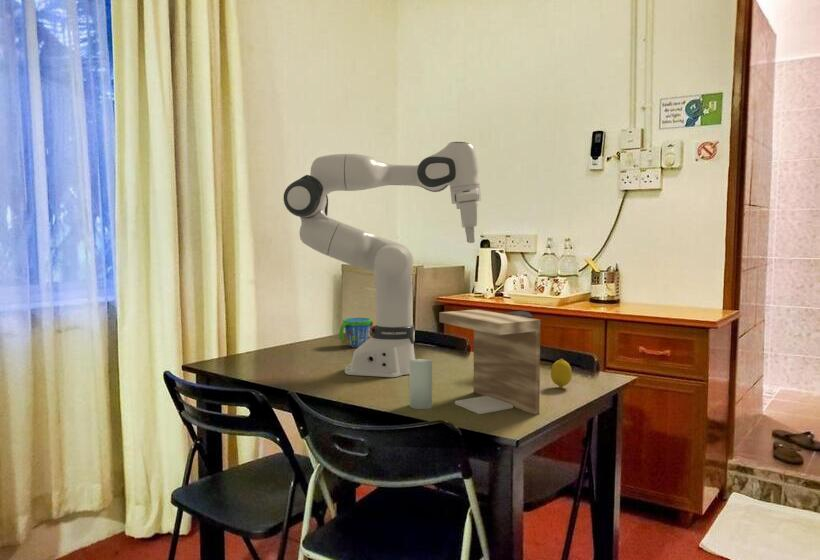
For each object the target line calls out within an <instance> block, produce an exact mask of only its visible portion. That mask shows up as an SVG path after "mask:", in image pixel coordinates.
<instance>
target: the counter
mask: <svg viewBox="0 0 820 560" xmlns="http://www.w3.org/2000/svg"><path fill="white" fill-rule="evenodd" d="M438 315H439V317H438V319H439V321H438V322H439V323H442V324H446V325H452V326H456V327H460V328H464V329H469V330H472V331H473V393H474V394H477V395H480V396H478V397H470V398H465V399H459V400H455V401H454V405H456V406H459V407H461V408H463V409H466V410H468V411H471V412H474V413H475V414H477V415H482V414H489V413H493V412H499V411H505V410H509V409H514V408H516V409H518V410H521V411H524V412H527V413H530V414H532V415H535V416H536V415H540V395H541V394H540V391H541V390H540V388H541V387H540V386H541V384H540V383H541V380H540V379H541V376H540V375H541V319H538V318H533V317H532V318H526V317H520V316H514V315H508V314H504V313H503V312H496V311H490V310H483V309H477V308H476V309H466V310H453V311H452V310H451V311H439V312H438Z"/></svg>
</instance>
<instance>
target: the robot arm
mask: <svg viewBox="0 0 820 560" xmlns="http://www.w3.org/2000/svg"><path fill="white" fill-rule="evenodd" d="M477 160H478V158H477V154H476V150H475V148H474V146H473V145H472V144H471V143H469V142H465V141H452V142H449V143H447V144H446V146H444V148H442V149H440V150H439V151H438V152H435V153H433V154H432V155H430V156H427V157H426V158H425V157H424V159H422V160H421V161H420V162H419V164H416V165H415V164H414V165H411V164H406V165H405V164H389V163H386V162H382V161H380V160H378V159H376V158H374V157H371V156H368V155H365V154H364V155H363V154H359V153H358V154H357V153H335V154H328V155H322V156H318V157H316V158H315V159H314V160H313V162H312V164H311V166H310V173H309V174H305V175H304V176H302V177H301V178H298V179H297V180H294V181H293V182H292V183H290V184H289V185H288V186H287V187H286V188H285V190H284V193H283V203H284V206H285V208H286V210H288V212H289V213H290V214H292V215H294V216H296V217H299V218H300V222H301V225H300V227H299V238H300V241H301V242H302V243H303V244H305V245H306V246H308V247H309V248H311V249H313V250H314V251H316V252H318V253H321V254H323V255H325V256H328V257H330V258H332V259H335V260H336V261H339V262H343V263H346V264H348V265H350V266H354V267H357V268H359V269H360V268H361V269H362V270H363V269H364V270H366V271H370V272H372V273H373V274H374V275H373V276H374V288H375V296H376V297H375V298H376V299H375V300H376V324H374V323H373V325H372V326H371V327H370V329H369V331H370V333H369V337H368V340H367V341H365V342H364V343H363V344H362V345H360V346H359V347H356V349H355V350H354V351H353V354H352V358H351V363H349V364H347V365H346V366H345V367H344V374H345V375H349V376H365V377H382V378H396V377H401V376H404V375H409V361H411V360H415V359H416V354H415V348H414V347H415V346H414V345H415V344H414V343H415V341H416V340H415V338H416V337H415V333H416V332H415V325H414V323H413V320H414V319H413V315H414V314H413V312H414V311H413V310H414V309H413V304H414V303H413V302H414V301H413V299H414V298H413V286H412V285H413V284H412V283H413V281H412V279H413V278H412V269H413V266H414V256H413V254H412V252H411V250H410V249H409V248H408V247H407V246H405V245H404V244H401V243H398V242H396V241H393V240H390V239H388V238H385V237H382V236H379V235H376V234H373V233H371V232H368V231H365V230H364V229H363V230H362V229H359V228H356V227H355V226H352V225H349V224H347V223H344V222H341V221H339V220H336V219H333V218H332V217H329V216H328V210H329V208H328V207H329V196H328V194H330V193H333V192H339V191H342V192H344V191H345V192H347V191H348V192H354V191H355V192H356V191H364V190H371V189H374V188H379V187H380V188H381V187H385V186H414V187H420V188H423V189H424V190H426V191H429V192H432V193H437V192H441V191H444V190H445V189H447V188H448V186H449V189H450V190H449V191H450V198H451V204H452V205H456V206H455V207H456V210H460V211H459V212H460V219H461V227H462V228H463V229H465V230H464V231H465V236H466V242H467V243H469V244H473V243H474V244H475V242H476V241H475V240H476V239H475V227H477V225H478V202H480V201H482V197H481V196H482V195H481V186H480V181H479V178H478V173H479V167H478V161H477Z"/></svg>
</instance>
